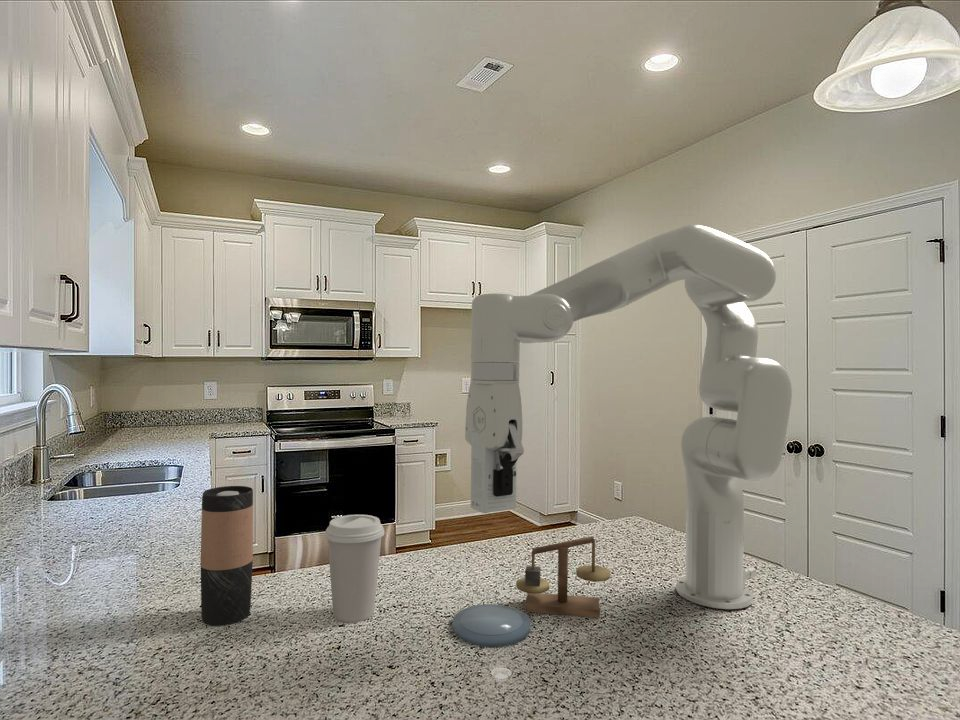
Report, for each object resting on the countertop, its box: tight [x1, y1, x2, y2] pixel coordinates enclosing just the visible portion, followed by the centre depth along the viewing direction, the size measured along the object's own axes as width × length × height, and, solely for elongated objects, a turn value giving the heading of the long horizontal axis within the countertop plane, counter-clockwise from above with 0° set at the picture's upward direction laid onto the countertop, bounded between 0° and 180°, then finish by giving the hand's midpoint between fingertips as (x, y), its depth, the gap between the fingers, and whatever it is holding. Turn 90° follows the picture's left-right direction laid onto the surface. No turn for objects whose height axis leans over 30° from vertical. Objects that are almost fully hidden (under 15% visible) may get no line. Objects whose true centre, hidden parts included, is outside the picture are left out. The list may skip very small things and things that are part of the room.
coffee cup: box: [324, 514, 385, 623], centre depth 92 cm, size 10×10×15 cm
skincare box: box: [470, 430, 517, 514], centre depth 88 cm, size 6×4×12 cm
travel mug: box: [200, 485, 254, 627], centre depth 91 cm, size 8×8×20 cm
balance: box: [515, 535, 611, 619], centre depth 95 cm, size 16×6×12 cm, turn 81°
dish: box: [452, 603, 531, 647], centre depth 88 cm, size 12×12×1 cm
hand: (494, 490), depth 88 cm, fingers closed on skincare box, 4 cm apart
